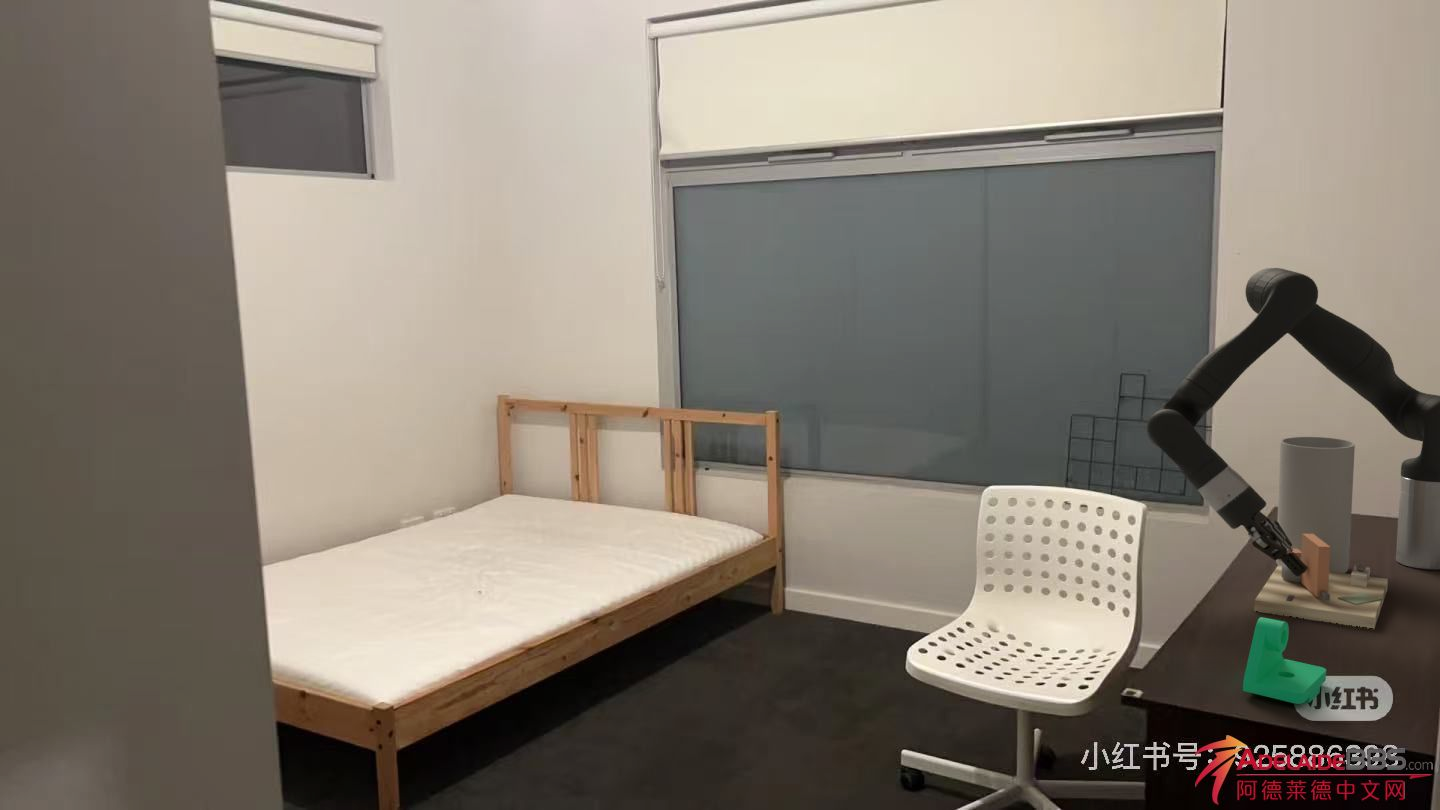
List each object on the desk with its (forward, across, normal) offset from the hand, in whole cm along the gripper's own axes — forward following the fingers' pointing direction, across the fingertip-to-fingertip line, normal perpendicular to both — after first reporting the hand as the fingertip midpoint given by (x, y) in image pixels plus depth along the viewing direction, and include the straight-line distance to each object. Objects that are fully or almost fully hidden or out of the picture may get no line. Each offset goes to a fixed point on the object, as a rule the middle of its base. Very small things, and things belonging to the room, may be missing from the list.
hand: (1302, 572), depth 193 cm
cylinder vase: (+3, +22, +5) cm, 23 cm away
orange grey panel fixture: (+2, +3, +2) cm, 4 cm away
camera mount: (+7, -44, +1) cm, 44 cm away
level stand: (+6, +2, +2) cm, 6 cm away
